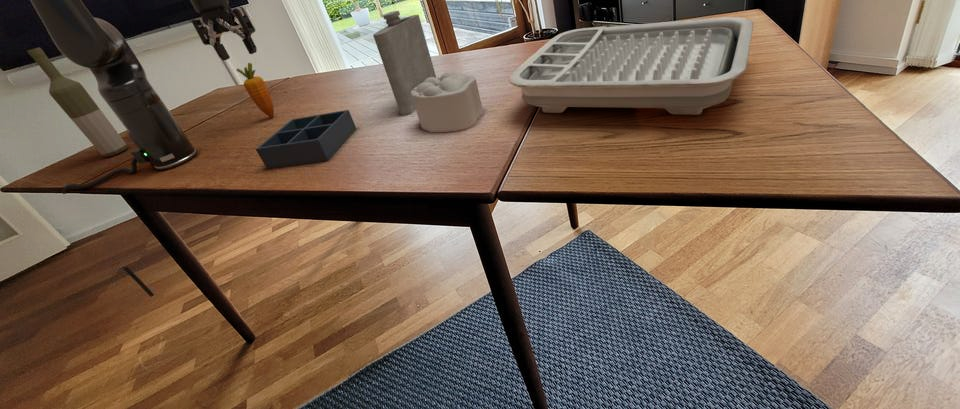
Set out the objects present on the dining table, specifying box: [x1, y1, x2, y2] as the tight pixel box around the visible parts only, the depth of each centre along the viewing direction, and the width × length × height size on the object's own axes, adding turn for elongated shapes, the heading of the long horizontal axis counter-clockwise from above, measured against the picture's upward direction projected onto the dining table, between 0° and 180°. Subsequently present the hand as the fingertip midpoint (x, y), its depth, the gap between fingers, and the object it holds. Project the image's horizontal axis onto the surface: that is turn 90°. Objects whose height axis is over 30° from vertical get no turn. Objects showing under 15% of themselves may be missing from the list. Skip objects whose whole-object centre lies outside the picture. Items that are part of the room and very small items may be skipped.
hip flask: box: [372, 10, 437, 116], centre depth 93 cm, size 16×4×20 cm, turn 156°
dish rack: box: [508, 16, 754, 116], centre depth 74 cm, size 32×37×8 cm
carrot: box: [236, 62, 275, 119], centre depth 110 cm, size 5×5×15 cm
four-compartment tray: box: [255, 109, 357, 170], centre depth 86 cm, size 14×14×5 cm
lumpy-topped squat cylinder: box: [411, 71, 484, 133], centre depth 81 cm, size 10×13×9 cm
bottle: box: [26, 47, 128, 158], centre depth 112 cm, size 7×7×30 cm
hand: (239, 56), depth 105 cm, fingers open, 8 cm apart
